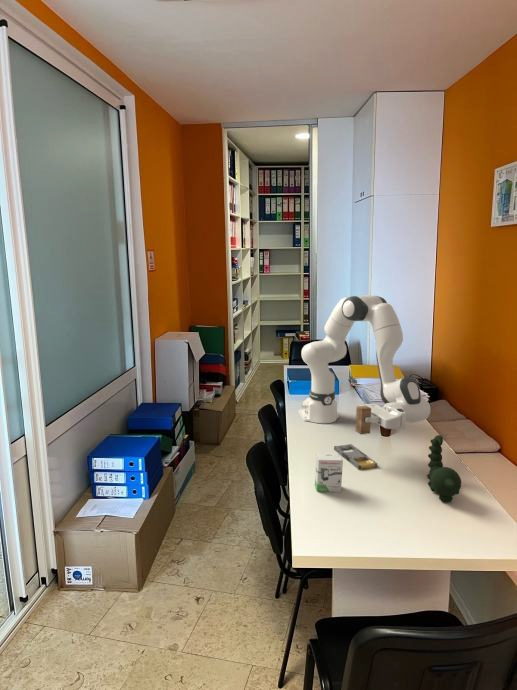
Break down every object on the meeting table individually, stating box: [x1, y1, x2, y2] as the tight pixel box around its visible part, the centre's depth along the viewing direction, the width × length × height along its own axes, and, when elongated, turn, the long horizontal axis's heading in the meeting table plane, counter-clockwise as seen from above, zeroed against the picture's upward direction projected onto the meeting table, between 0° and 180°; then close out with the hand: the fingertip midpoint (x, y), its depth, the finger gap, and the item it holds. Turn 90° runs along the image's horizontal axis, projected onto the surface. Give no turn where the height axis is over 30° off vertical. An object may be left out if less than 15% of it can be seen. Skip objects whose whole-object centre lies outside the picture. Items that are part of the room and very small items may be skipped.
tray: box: [333, 443, 378, 470], centre depth 199 cm, size 20×8×2 cm, turn 19°
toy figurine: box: [426, 434, 462, 503], centre depth 170 cm, size 9×19×25 cm
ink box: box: [314, 453, 344, 493], centre depth 172 cm, size 9×5×12 cm, turn 91°
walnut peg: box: [355, 405, 371, 435], centre depth 192 cm, size 4×4×10 cm
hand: (361, 417), depth 191 cm, fingers closed on walnut peg, 4 cm apart
